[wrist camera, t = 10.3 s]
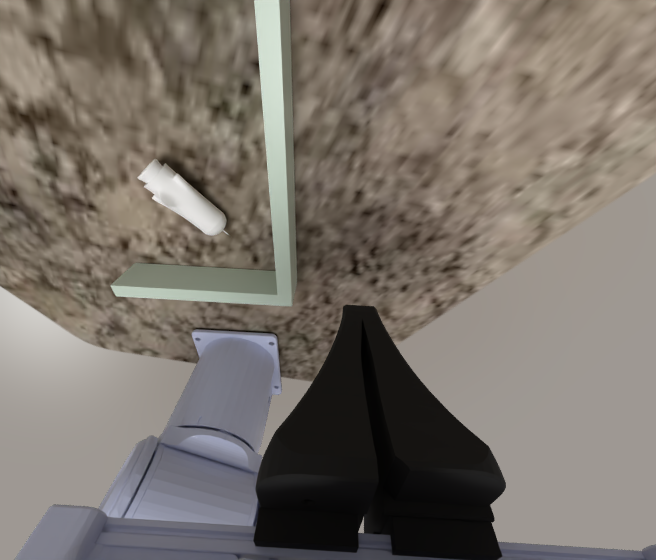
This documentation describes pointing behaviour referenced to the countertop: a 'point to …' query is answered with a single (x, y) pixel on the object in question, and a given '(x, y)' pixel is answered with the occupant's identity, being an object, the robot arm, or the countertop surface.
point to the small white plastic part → (182, 198)
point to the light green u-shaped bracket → (280, 163)
